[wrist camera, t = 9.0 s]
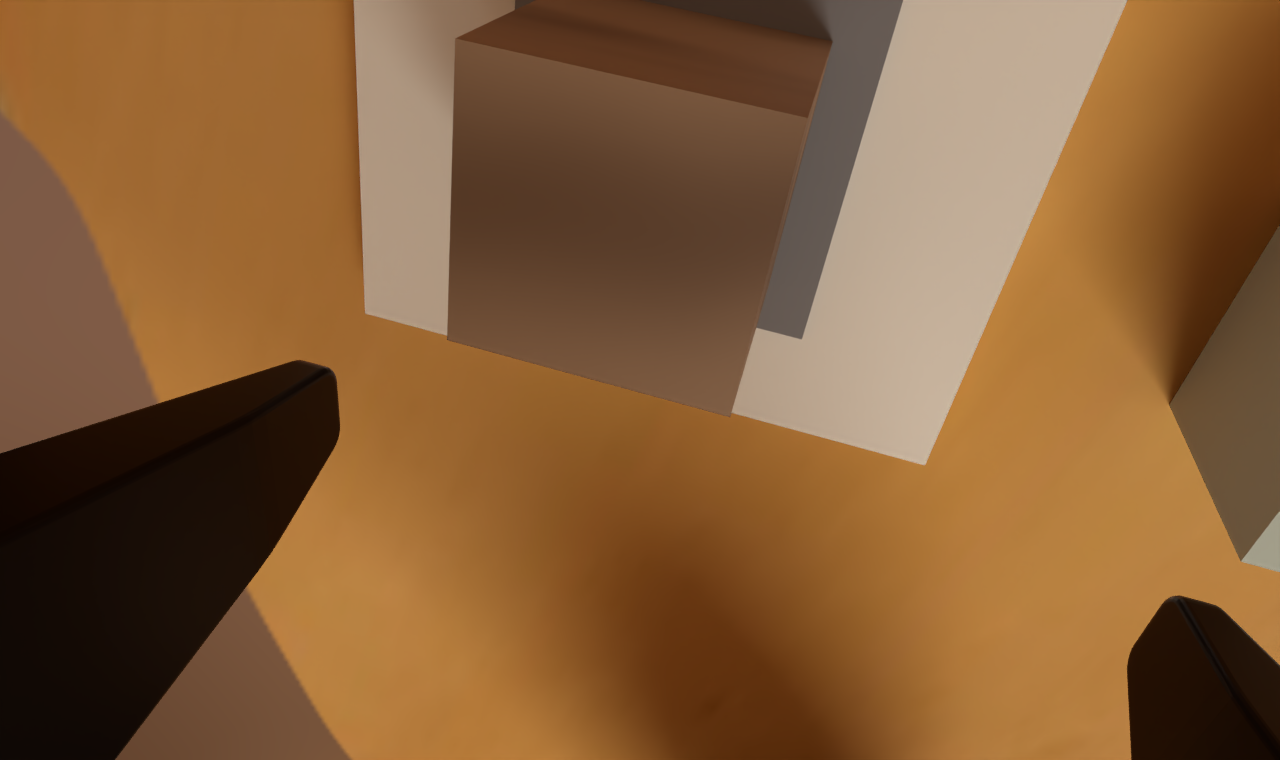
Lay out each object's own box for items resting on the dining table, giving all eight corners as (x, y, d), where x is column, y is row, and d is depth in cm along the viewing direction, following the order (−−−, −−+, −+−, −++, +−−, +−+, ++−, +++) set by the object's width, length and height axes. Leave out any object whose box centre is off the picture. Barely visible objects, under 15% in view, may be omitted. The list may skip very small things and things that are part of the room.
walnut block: (768, 285, 18) (730, 417, 14) (545, 229, 19) (446, 339, 15) (832, 41, 16) (808, 117, 12) (568, -15, 16) (455, 38, 12)
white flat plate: (924, 440, 21) (925, 470, 20) (384, 295, 23) (360, 317, 22) (1168, -136, 14) (1189, -133, 13) (372, -279, 16) (337, -285, 15)
